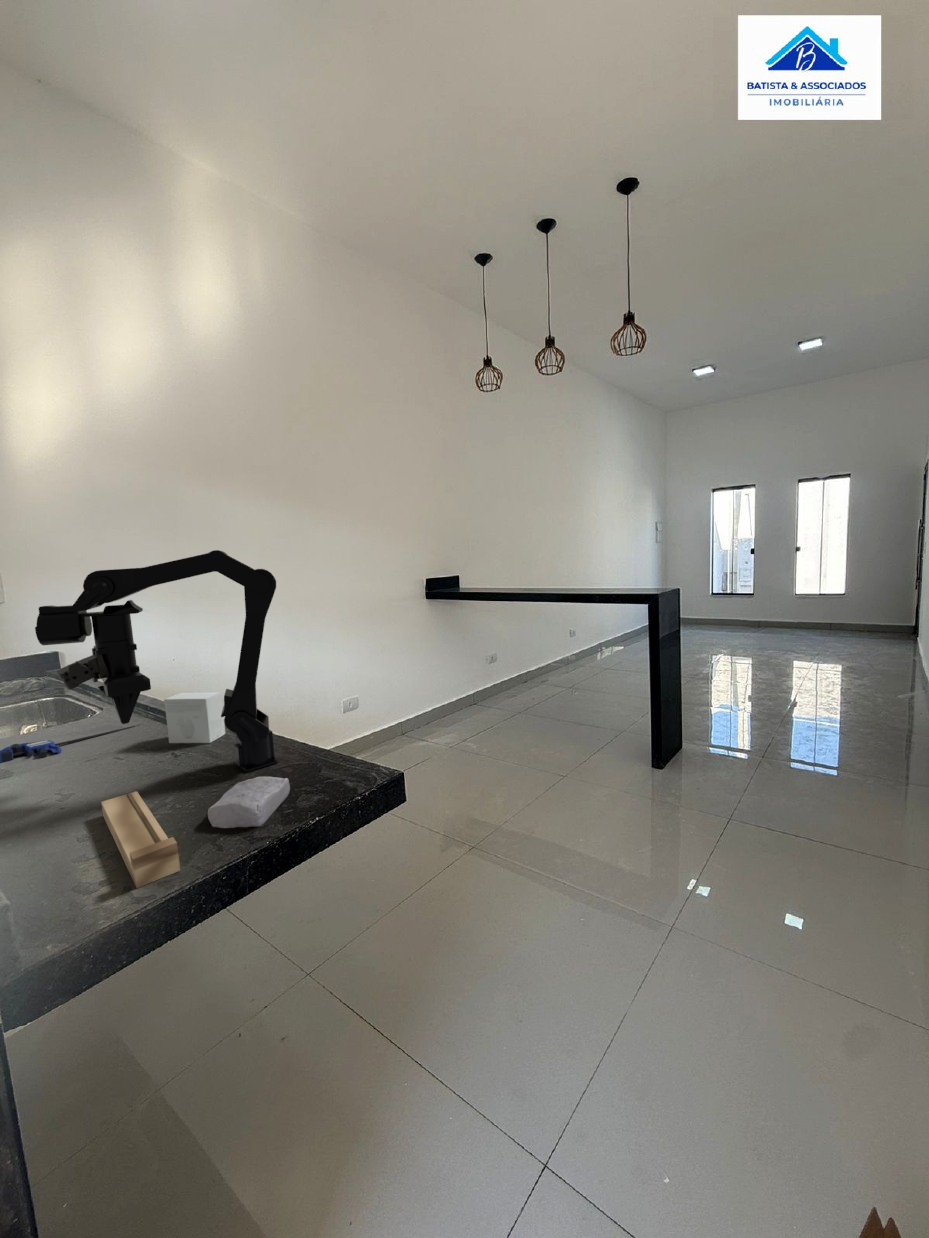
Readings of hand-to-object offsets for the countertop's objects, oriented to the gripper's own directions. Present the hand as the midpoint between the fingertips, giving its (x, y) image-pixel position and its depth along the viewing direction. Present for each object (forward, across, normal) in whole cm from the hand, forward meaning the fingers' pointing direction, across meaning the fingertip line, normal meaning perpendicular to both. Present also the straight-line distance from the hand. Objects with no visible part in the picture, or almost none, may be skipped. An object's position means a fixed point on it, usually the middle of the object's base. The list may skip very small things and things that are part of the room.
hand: (125, 723), depth 92 cm
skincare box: (+12, -18, +16) cm, 27 cm away
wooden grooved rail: (+12, +23, -4) cm, 26 cm away
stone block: (+13, +26, +12) cm, 31 cm away
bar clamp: (+13, -38, -2) cm, 40 cm away
